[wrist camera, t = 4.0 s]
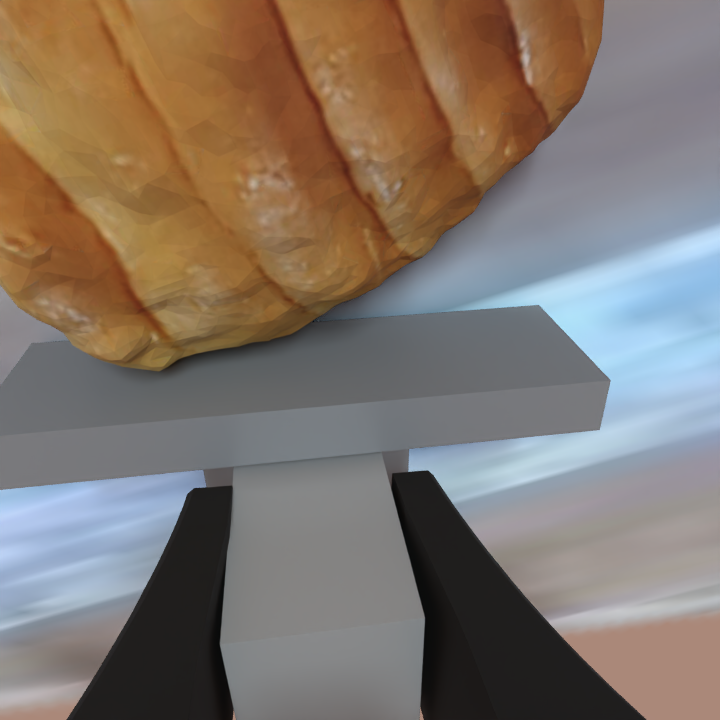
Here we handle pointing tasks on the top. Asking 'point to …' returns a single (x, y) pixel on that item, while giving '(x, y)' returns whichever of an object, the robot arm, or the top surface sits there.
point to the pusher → (307, 474)
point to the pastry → (256, 153)
